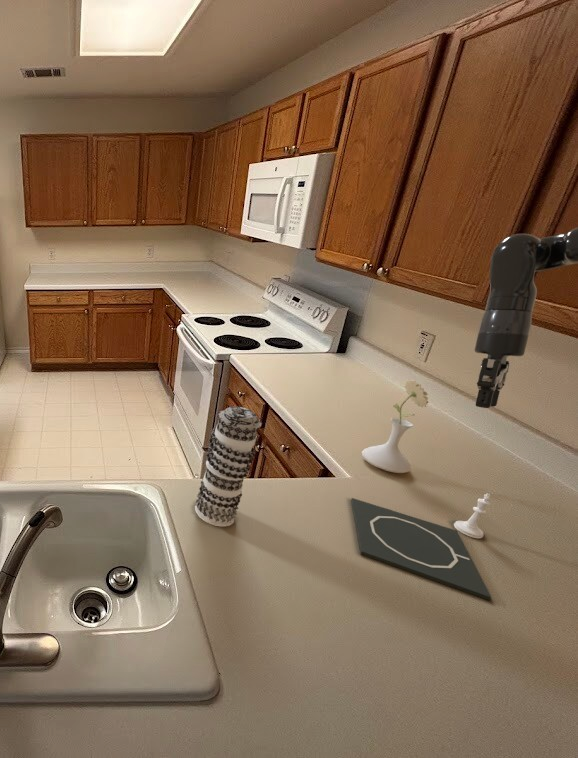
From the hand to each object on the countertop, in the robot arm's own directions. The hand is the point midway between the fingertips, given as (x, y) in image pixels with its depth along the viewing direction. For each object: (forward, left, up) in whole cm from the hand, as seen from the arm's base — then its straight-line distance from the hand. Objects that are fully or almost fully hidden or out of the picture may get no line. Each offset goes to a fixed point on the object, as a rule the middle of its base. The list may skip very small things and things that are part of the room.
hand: (485, 406), depth 90 cm
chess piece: (-4, +7, -27) cm, 28 cm away
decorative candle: (+47, +34, -27) cm, 64 cm away
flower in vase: (+9, -16, -27) cm, 32 cm away
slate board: (+9, +20, -27) cm, 35 cm away
